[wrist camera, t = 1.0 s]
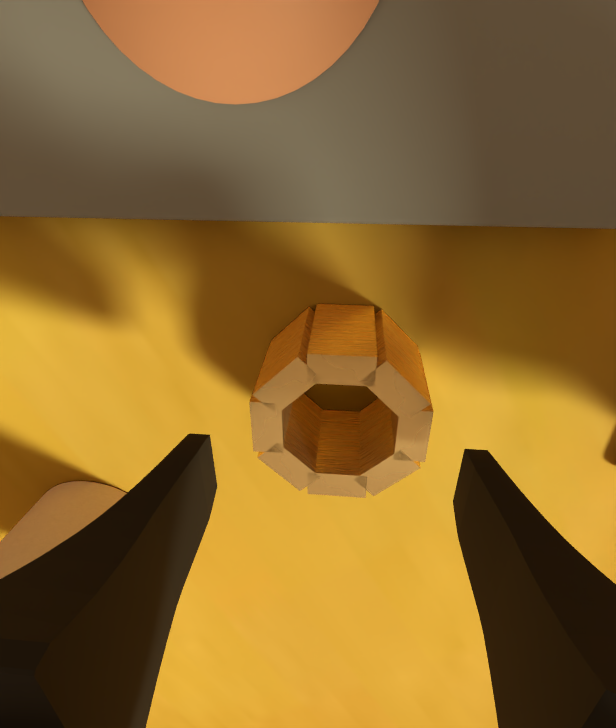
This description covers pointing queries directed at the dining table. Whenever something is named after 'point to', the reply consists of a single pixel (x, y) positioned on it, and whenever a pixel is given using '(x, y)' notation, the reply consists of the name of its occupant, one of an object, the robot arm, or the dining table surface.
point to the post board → (310, 111)
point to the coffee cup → (54, 521)
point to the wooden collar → (333, 427)
